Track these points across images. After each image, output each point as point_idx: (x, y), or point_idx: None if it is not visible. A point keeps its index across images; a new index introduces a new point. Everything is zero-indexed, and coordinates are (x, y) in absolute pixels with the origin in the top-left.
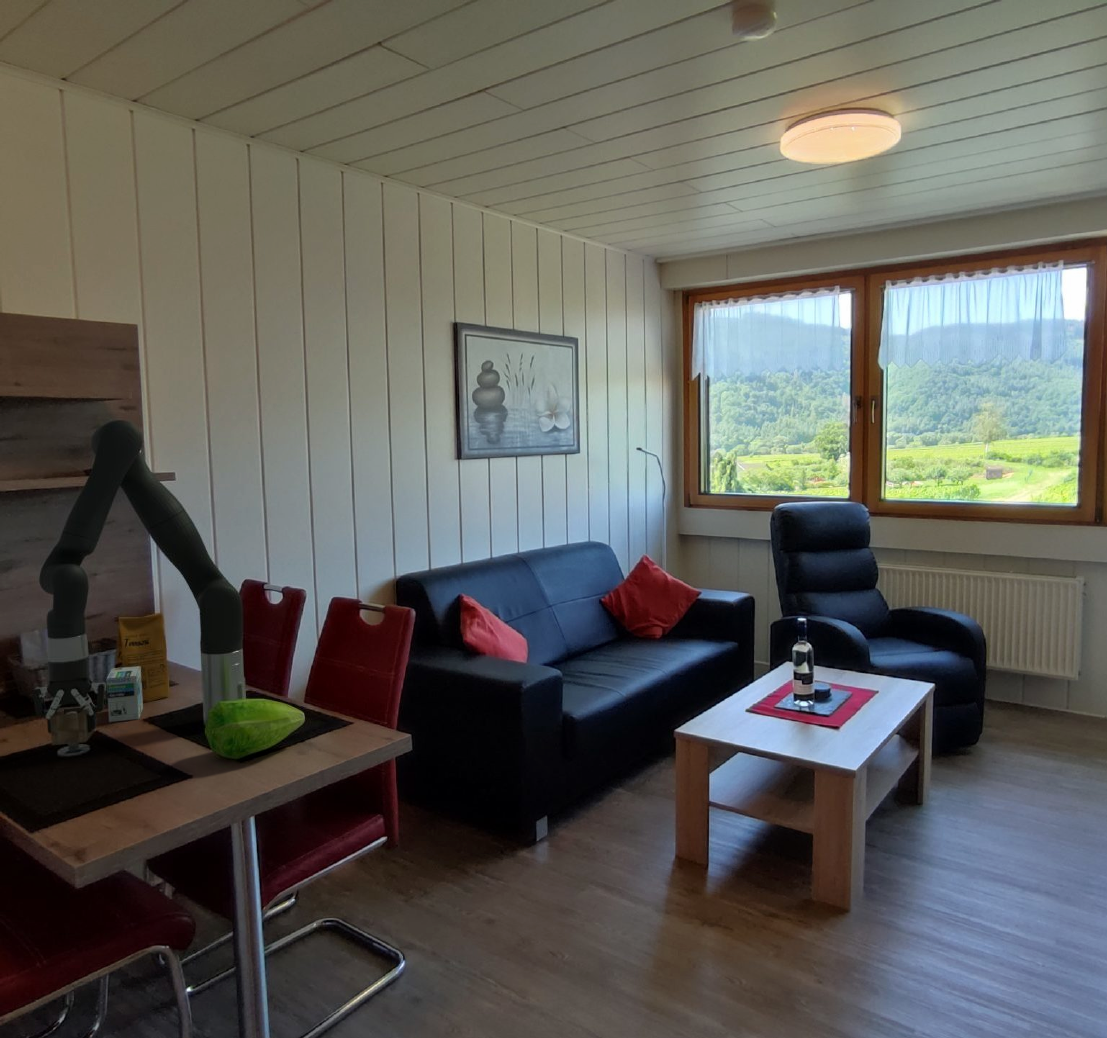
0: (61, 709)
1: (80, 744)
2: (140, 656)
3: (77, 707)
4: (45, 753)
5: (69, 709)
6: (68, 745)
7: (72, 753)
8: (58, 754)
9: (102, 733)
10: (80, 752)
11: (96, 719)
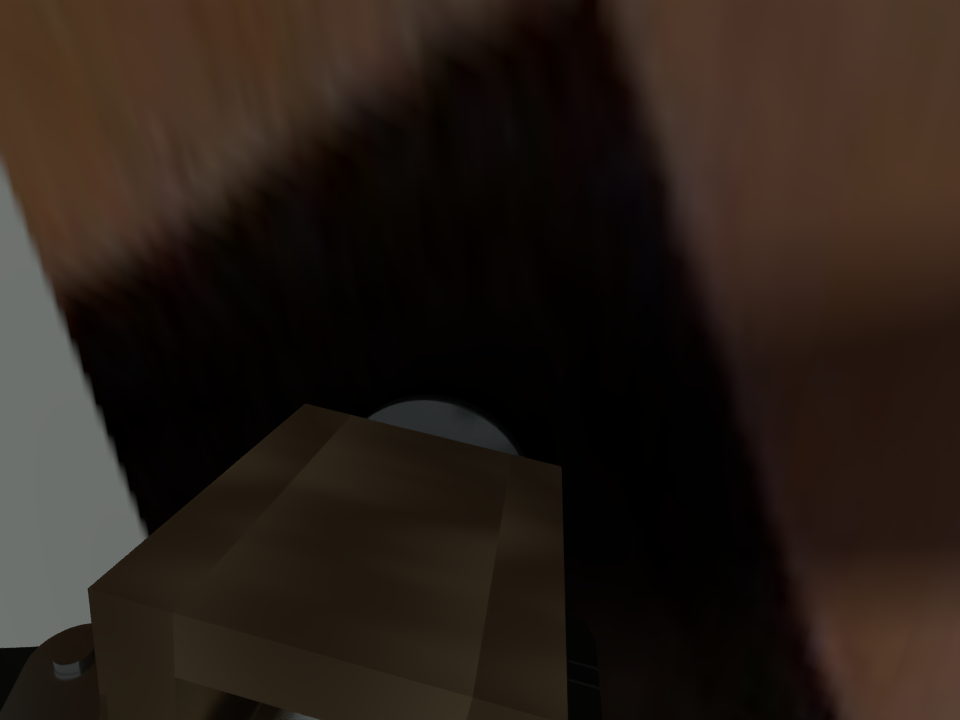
0: (144, 674)
1: (466, 415)
2: None
3: (350, 706)
4: (270, 412)
5: (253, 688)
6: None
7: None
8: None
9: (631, 101)
10: None
11: (599, 701)
